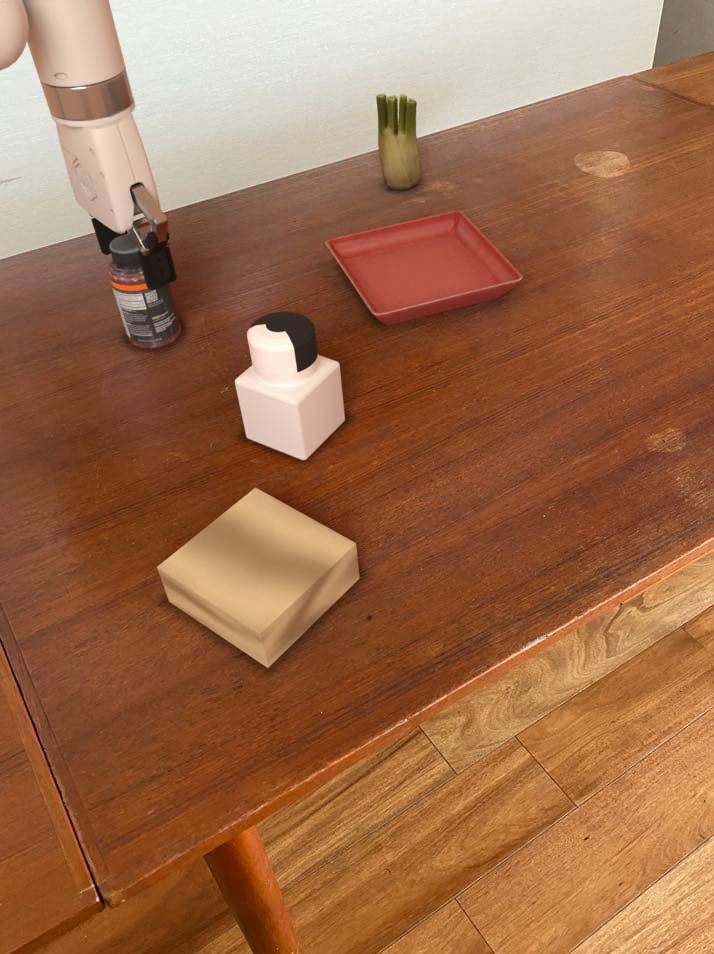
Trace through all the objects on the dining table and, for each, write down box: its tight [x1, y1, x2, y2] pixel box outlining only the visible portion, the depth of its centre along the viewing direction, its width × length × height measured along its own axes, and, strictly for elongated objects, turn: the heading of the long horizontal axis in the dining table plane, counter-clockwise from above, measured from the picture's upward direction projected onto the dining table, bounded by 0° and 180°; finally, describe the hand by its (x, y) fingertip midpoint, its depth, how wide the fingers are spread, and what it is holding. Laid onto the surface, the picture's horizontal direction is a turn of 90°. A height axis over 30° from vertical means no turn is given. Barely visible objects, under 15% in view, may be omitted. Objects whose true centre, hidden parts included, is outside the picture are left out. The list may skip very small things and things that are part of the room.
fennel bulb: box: [375, 93, 422, 192], centre depth 116 cm, size 6×5×12 cm
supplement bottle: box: [107, 233, 182, 350], centre depth 92 cm, size 6×6×11 cm
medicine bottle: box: [234, 310, 346, 461], centre depth 80 cm, size 7×7×12 cm
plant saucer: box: [324, 210, 523, 326], centre depth 102 cm, size 18×18×3 cm
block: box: [156, 487, 360, 669], centre depth 69 cm, size 11×11×4 cm
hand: (139, 266), depth 91 cm, fingers open, 9 cm apart
